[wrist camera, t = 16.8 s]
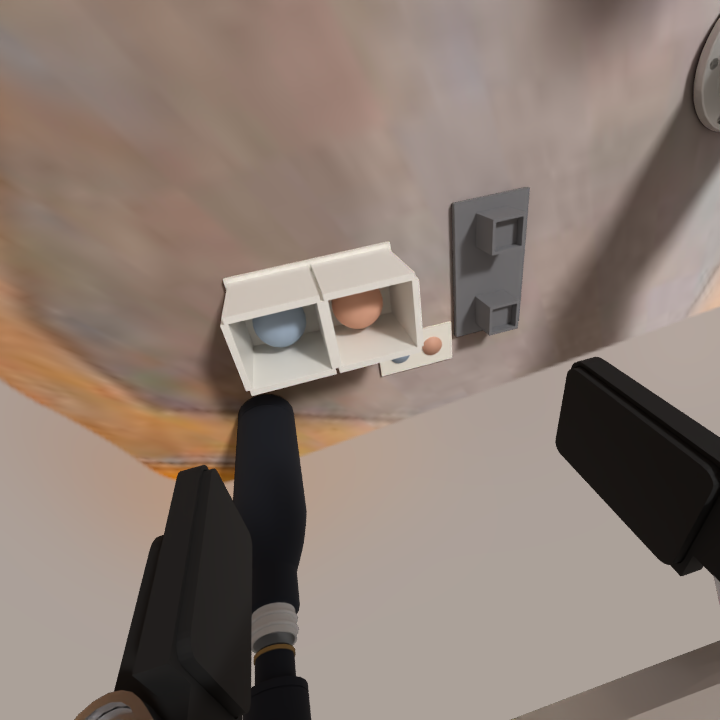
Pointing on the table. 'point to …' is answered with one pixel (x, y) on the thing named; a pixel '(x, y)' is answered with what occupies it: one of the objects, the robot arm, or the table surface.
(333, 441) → the table surface
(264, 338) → the slate ball
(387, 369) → the card
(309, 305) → the two-slot cubby shelf
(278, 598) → the wine bottle
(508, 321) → the ball stand
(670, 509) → the robot arm
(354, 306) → the terracotta ball
